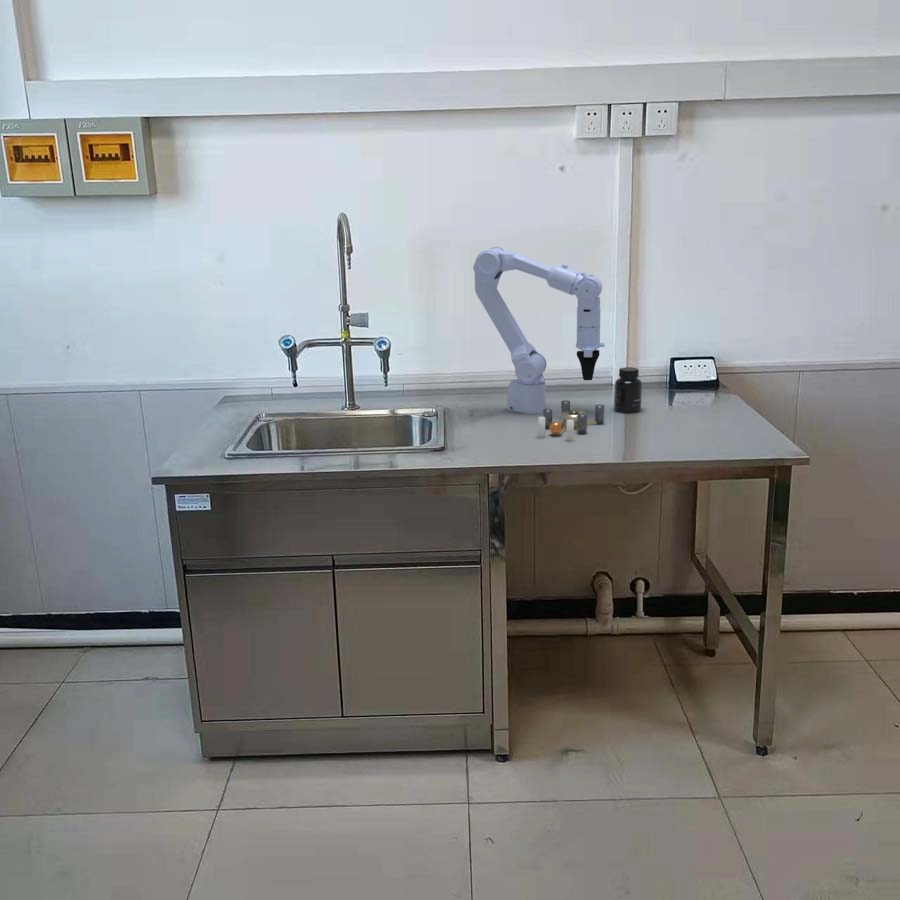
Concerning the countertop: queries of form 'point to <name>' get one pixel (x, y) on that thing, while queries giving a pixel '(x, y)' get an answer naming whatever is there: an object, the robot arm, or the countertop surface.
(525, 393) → the robot arm
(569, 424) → the white rounded posts
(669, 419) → the countertop surface
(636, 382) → the supplement bottle
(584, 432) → the capstan
